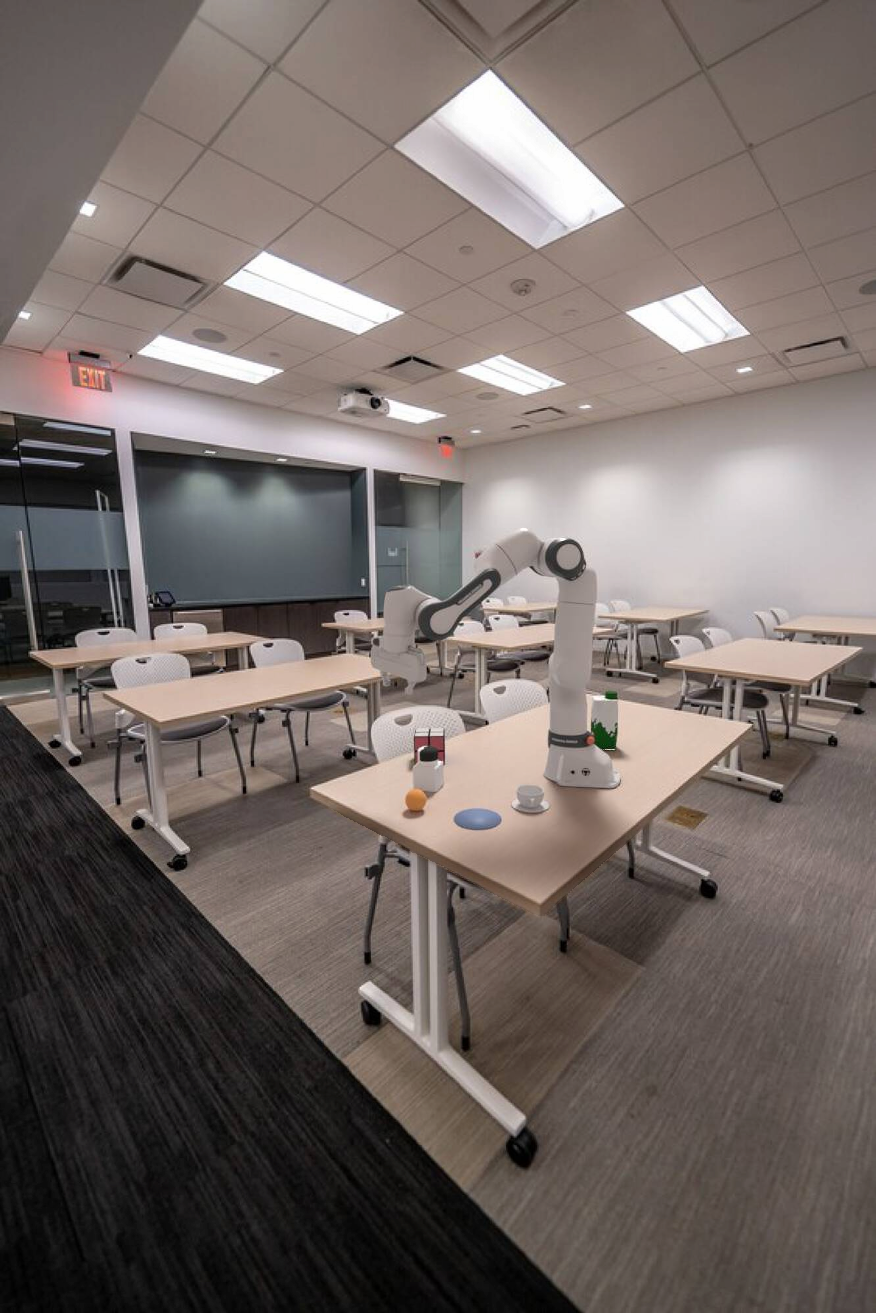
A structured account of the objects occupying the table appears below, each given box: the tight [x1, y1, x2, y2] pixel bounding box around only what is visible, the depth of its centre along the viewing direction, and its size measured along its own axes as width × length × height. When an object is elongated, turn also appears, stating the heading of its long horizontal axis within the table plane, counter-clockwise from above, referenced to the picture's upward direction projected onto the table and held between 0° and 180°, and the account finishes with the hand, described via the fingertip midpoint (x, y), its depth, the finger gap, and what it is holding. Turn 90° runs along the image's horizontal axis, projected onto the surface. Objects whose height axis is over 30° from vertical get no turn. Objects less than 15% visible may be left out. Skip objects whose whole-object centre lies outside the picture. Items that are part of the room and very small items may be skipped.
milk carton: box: [590, 690, 619, 749], centre depth 192 cm, size 9×9×20 cm
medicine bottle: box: [412, 746, 445, 793], centre depth 159 cm, size 7×7×12 cm
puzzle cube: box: [413, 727, 446, 766], centre depth 183 cm, size 10×10×10 cm
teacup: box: [511, 784, 550, 814], centre depth 145 cm, size 10×10×5 cm
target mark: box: [453, 808, 502, 831], centre depth 138 cm, size 12×12×1 cm
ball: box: [405, 789, 427, 812], centre depth 144 cm, size 6×6×6 cm
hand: (397, 689), depth 156 cm, fingers open, 8 cm apart
